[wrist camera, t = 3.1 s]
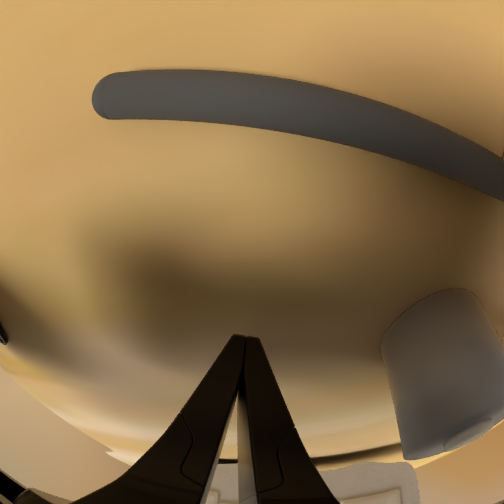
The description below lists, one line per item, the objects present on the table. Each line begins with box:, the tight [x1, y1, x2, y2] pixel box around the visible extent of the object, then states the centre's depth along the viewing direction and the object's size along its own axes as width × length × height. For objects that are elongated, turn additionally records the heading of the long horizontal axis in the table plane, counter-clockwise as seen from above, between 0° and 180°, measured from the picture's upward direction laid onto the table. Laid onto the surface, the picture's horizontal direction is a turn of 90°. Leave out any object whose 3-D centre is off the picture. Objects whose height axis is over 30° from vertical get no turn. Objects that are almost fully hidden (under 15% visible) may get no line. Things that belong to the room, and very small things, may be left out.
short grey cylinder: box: [381, 288, 504, 460], centre depth 8 cm, size 5×5×5 cm
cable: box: [92, 70, 504, 202], centre depth 5 cm, size 13×1×1 cm, turn 82°
